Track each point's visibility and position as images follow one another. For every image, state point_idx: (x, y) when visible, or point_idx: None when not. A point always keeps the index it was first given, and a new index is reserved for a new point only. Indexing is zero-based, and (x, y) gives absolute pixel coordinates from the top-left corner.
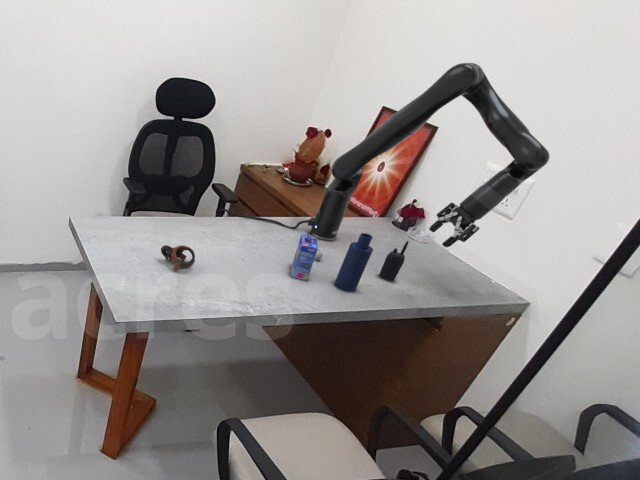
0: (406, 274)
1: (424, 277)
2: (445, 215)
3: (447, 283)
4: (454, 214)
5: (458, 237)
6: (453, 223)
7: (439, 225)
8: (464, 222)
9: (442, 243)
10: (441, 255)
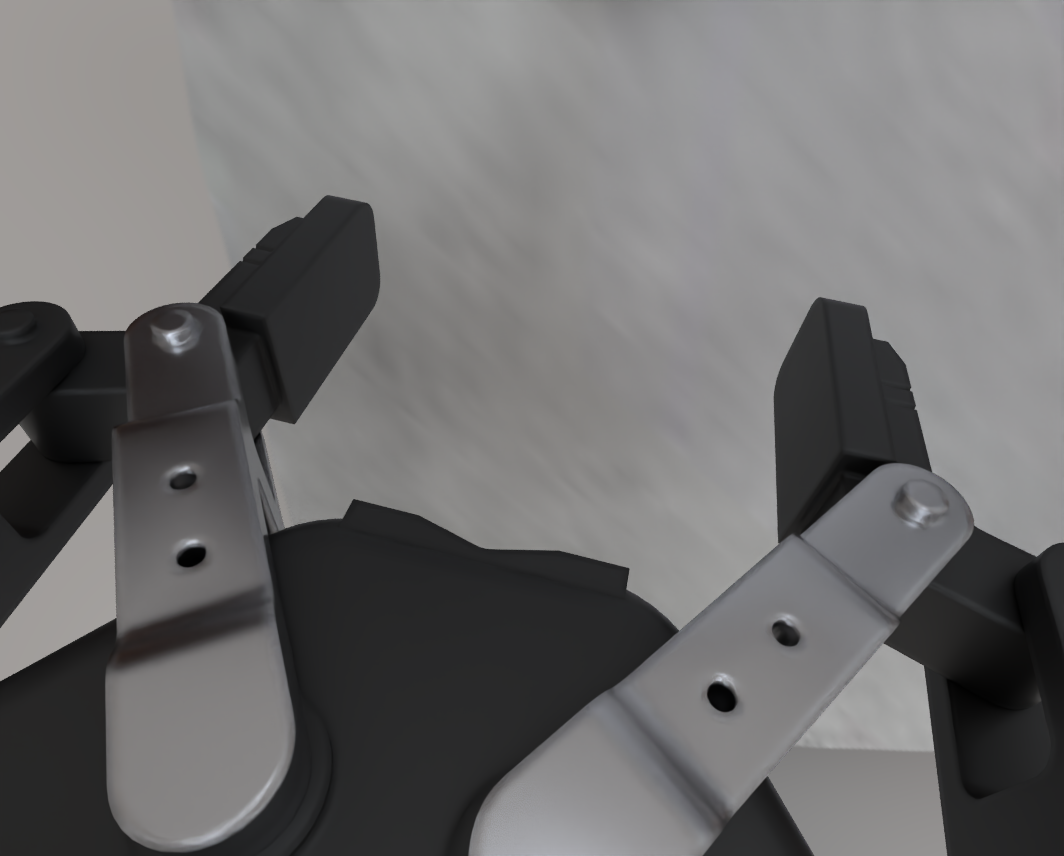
0: (680, 208)
1: (619, 338)
2: (874, 627)
3: (526, 450)
4: (578, 794)
5: (22, 314)
6: (435, 549)
7: (796, 466)
8: (35, 708)
9: (356, 201)
10: (864, 685)
